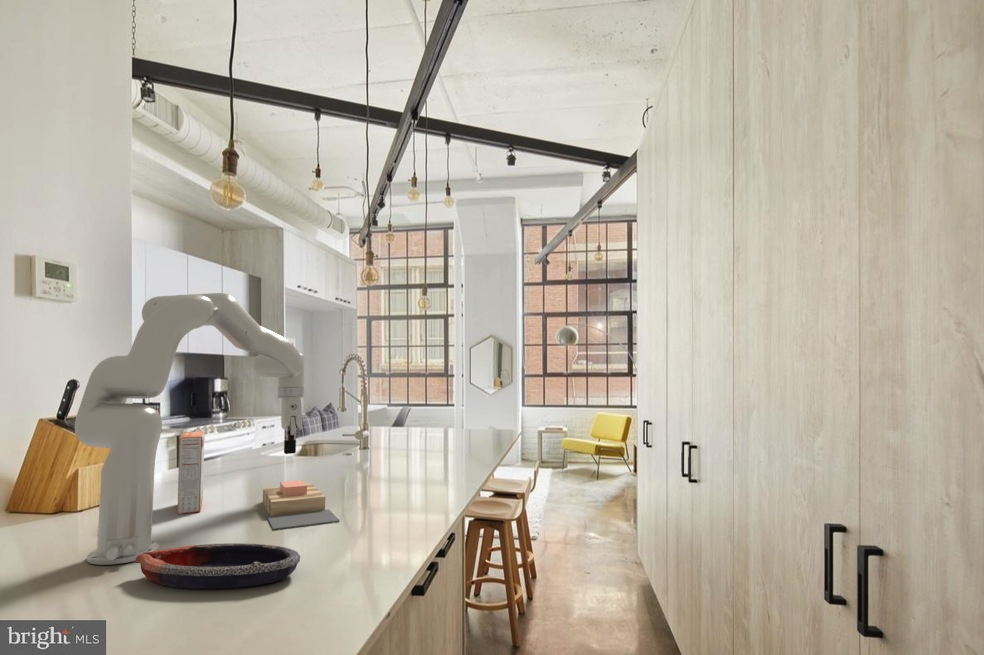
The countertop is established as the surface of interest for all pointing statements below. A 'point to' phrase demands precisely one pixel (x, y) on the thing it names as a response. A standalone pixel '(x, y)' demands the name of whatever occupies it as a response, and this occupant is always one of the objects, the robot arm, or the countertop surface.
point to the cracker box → (190, 472)
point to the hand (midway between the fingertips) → (289, 453)
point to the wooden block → (292, 501)
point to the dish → (218, 565)
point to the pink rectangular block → (293, 488)
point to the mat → (301, 519)
